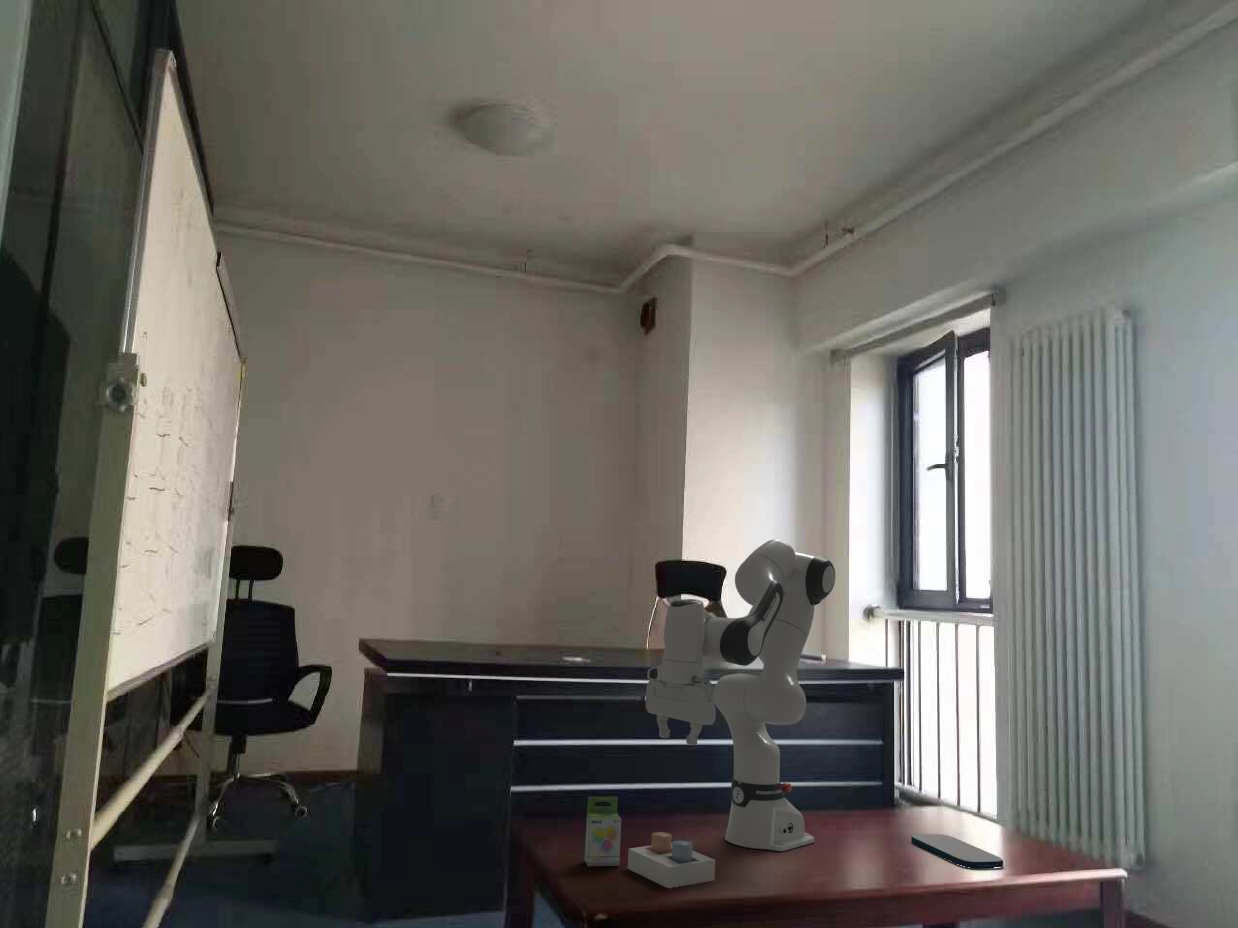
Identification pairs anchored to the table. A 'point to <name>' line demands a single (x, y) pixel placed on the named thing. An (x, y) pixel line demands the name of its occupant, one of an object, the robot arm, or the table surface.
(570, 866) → the table surface
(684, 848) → the grey piece
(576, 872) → the table surface
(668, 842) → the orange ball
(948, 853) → the external hard drive
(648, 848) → the white flat block
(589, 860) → the ink box
